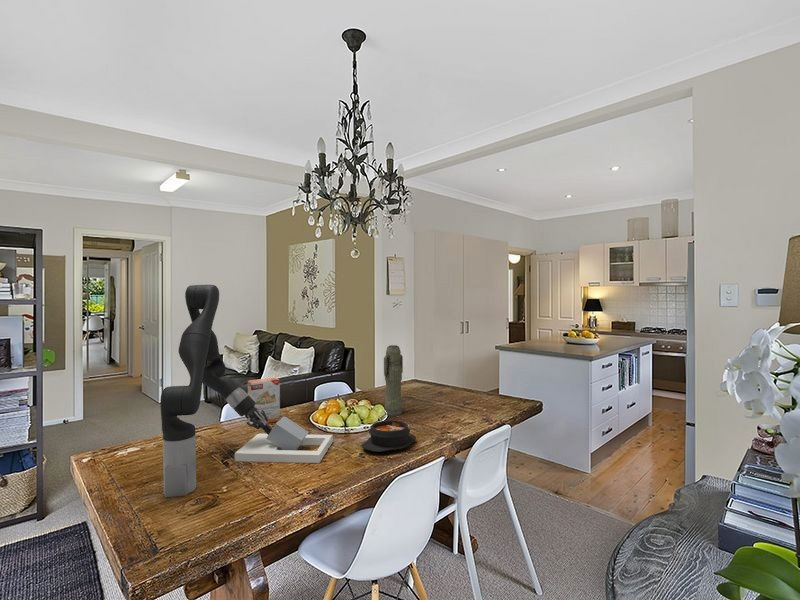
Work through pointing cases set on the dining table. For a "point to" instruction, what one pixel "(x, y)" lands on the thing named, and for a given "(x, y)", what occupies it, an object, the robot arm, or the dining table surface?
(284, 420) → the slate block
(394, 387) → the stone statue
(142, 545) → the dining table surface
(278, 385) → the cracker box
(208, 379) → the robot arm
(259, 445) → the hole deck
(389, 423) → the casserole
